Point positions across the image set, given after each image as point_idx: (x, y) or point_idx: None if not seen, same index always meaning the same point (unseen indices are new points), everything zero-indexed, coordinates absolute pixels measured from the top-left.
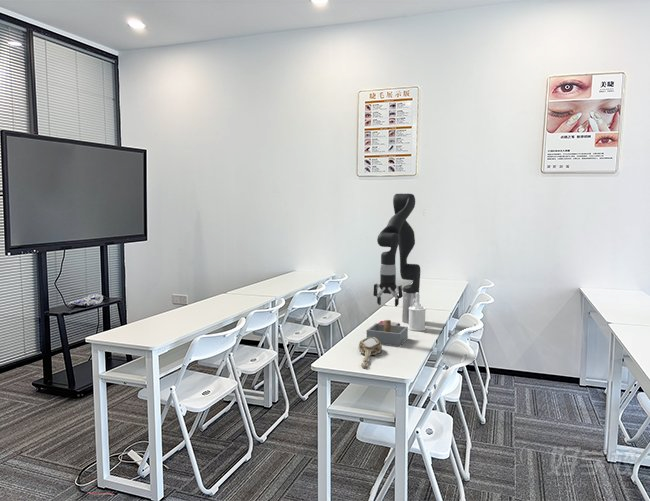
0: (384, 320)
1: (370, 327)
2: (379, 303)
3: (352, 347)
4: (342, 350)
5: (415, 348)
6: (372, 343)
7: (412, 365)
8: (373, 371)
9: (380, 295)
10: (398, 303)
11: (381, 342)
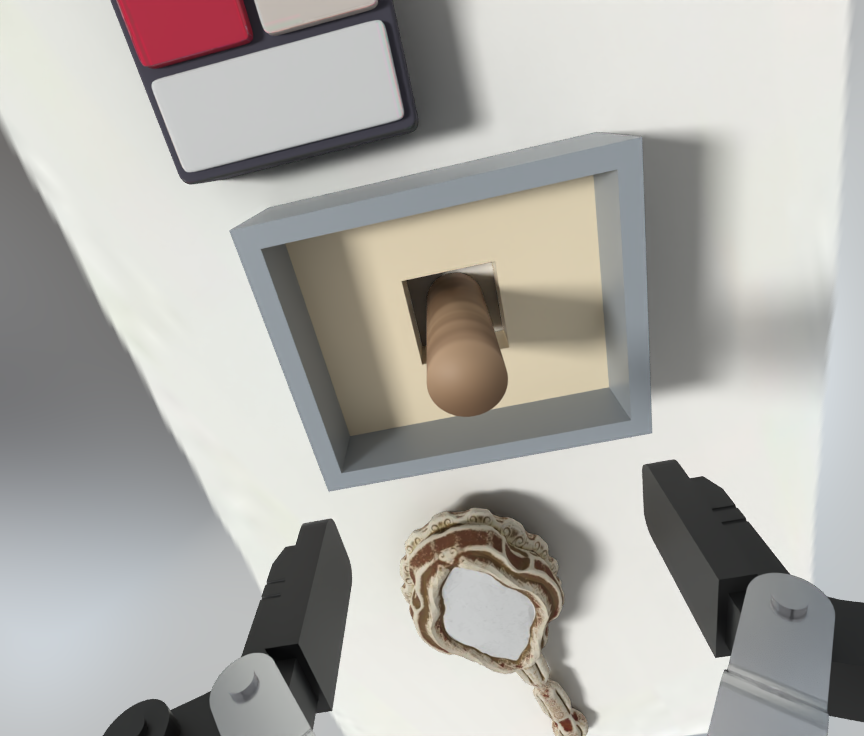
0: (430, 392)
1: (298, 404)
2: (348, 599)
3: None
4: None
5: (739, 355)
6: (510, 622)
7: None
8: (626, 729)
9: (286, 701)
10: (728, 508)
11: None
